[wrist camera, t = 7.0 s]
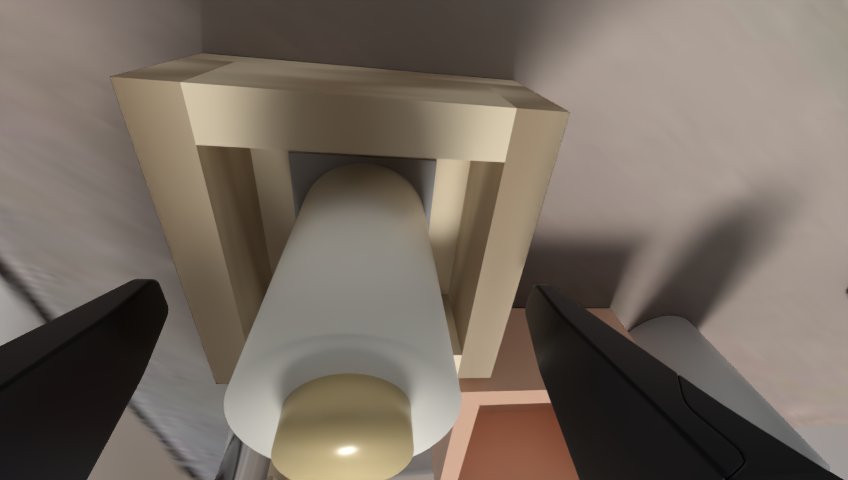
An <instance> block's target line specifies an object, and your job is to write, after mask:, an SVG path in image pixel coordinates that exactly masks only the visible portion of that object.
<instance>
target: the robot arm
mask: <svg viewBox="0 0 848 480" xmlns="http://www.w3.org/2000/svg"><path fill="white" fill-rule="evenodd" d="M167 315H168V305H167V302H166V300H165V297H164V294H163V292H162V289H161V287H160V284H159V283H158V282H157V281H156V280H154V279H135V280H132V281H130V282H128V283H126V284H124V285H122V286H120V287H118V288H116V289H114V290H112V291H110V292H108V293H106V294H104V295H102V296H100V297H98V298H96V299H94V300H92V301H90V302H88V303H86V304H84V305H82V306H80V307H78V308H76V309H74V310H72V311H70V312H68V313H66V314H64V315H62V316H60V317H58V318H56V319H54V320H52V321H50V322H48V323H46V324H44V325H42V326H40V327H38V328H36V329H34V330H32V331H30V332H28V333H26V334H24V335H22V336H20V337H18V338H16V339H14V340H12V341H10V342H8V343H6V344H4V345H2V346H0V480H87V478H88V477H89V475H90V473H91V471H92V469H93V467H94V466H95V464H96V462H97V460H98V458H99V456H100V454H101V453H102V450H103V449H104V447H105V445H106V443H107V442H108V440H109V438H110V436H111V434H112V432H113V430H114V428H115V427H116V425H117V423H118V421H119V419H120V418H121V416H122V414H123V412H124V410H125V408H126V406H127V405H128V403H129V401H130V399H131V397H132V395H133V394H134V392H135V390H136V388H137V386H138V384H139V382H140V380H141V378H142V376H143V374H144V372H145V370H146V367H147V365H148V362H149V360H150V358H151V355H152V353H153V350H154V348H155V345H156V343H157V340H158V338H159V335H160V333H161V330H162V328H163V326H164V323H165V321H166V318H167ZM525 315H526V320H527V324H528V328H529V332H530V336H531V340H532V344H533V348H534V352H535V356H536V360H537V364H538V368H539V371H540V374H541V377H542V380H543V382H544V385H545V388H546V390H547V393H548V396H549V399H550V401H551V404H552V407H553V409H554V412H555V415H556V418H557V420H558V423H559V426H560V429H561V431H562V434H563V437H564V439H565V442H566V445H567V448H568V450H569V453H570V456H571V458H572V461H573V464H574V467H575V469H576V472H577V475H578V477H579V480H843V479H842V478H840V477H838V476H836V475H835V474H833V473H831V472H830V471H828V470H826V469H825V468H823V467H822V466H820V465H818V464H817V463H815V462H814V461H812V460H810V459H809V458H807V457H806V456H804V455H802V454H801V453H799V452H798V451H796V450H794V449H793V448H791V447H790V446H788V445H786V444H785V443H783V442H782V441H780V440H778V439H777V438H775V437H774V436H772V435H770V434H769V433H767V432H766V431H764V430H762V429H761V428H759V427H758V426H756V425H754V424H753V423H751V422H750V421H748V420H747V419H745V418H743V417H742V416H740V415H739V414H737V413H736V412H734V411H732V410H731V409H729V408H728V407H726V406H725V405H723V404H722V403H720V402H719V401H717V400H716V399H714V398H713V397H711V396H710V395H708V394H707V393H705V392H704V391H702V390H701V389H700V388H698V387H697V386H695V385H694V384H692V383H691V382H689V381H688V380H687V379H685V378H684V377H682V376H681V375H677V373H676V372H675V371H674V370H672V369H671V368H669V367H668V366H667V365H665V364H664V363H662V362H661V361H659V360H658V359H657V358H655V357H654V356H652V355H651V354H649V353H648V352H647V351H645V350H644V349H642V348H641V347H639V346H638V345H637V344H635V343H634V342H632V341H631V340H629V339H628V338H627V337H625V336H624V335H622V334H621V333H619V332H618V331H617V330H615V329H614V328H612V327H611V326H609V325H608V324H607V323H605V322H604V321H602V320H601V319H599V318H598V317H597V316H595V315H594V314H592V313H591V312H589V311H588V310H587V309H585V308H584V307H582V306H581V305H579V304H578V303H577V302H575V301H574V300H572V299H571V298H569V297H568V296H567V295H565V294H564V293H562V292H561V291H559V290H558V289H557V288H555V287H554V286H552V285H551V284H535V285H533V287H532V289H531V292H530V295H529V298H528V301H527V304H526V308H525Z"/></svg>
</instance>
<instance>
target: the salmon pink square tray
mask: <svg viewBox="0 0 848 480" xmlns="http://www.w3.org/2000/svg"><path fill="white" fill-rule="evenodd" d="M585 309H587V310H588V311H589V312H591V313H592V314H594V315H595V316H597V317H598V318H599V319H601V320H602V321H604V322H605V323H607V324H608V325H609V326H611V327H612V328H614V329H615V330H617V331H618V332H619V333H621V334H622V335H624V336H625V337H627V338H628V339H629V340H631V341H632V342H634V343H635V344H637V343H636V342H635V341H634V339H633V338H632V337H631V335H630V334H629V333H628V332H627V330H626V329H625V328H624V326H623V325H622V324H621V322H620V321H619V320H618V318H617V317H616V316H615V314H614V313H613V312H612V310H611V309H610V308H585ZM458 381H459V386H460V391H461V401H462V402H461V409H460V413H459V415H458V418H457V420H456V422H455V423H454V425H453V427H452V428H451V429H450V430H449V432H448V433H447V434H446V435H445V436H444V437H443V438H442V439H441V440H440V441H438V442H437V443H436V444H434V445H433V446H432V447H431V454H432V463H433V472H434V480H579V477H578V475H577V472H576V469H575V467H574V464H573V461H572V458H571V456H570V453H569V450H568V448H567V445H566V442H565V439H564V437H563V434H562V431H561V429H560V426H559V423H558V420H557V418H556V415H555V412H554V409H553V407H552V404H551V401H550V399H549V396H548V393H547V390H546V388H545V385H544V382H543V380H542V377H541V374H540V371H539V368H538V364H537V360H536V356H535V352H534V348H533V344H532V340H531V336H530V332H529V328H528V324H527V320H526V315H525V308H511V311H510V314H509V318H508V321H507V324H506V328H505V331H504V334H503V338H502V341H501V344H500V348H499V351H498V354H497V358H496V361H495V364H494V368H493V371H492V374H491V378H458Z"/></svg>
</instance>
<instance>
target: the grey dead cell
mask: <svg viewBox="0 0 848 480" xmlns="http://www.w3.org/2000/svg"><path fill="white" fill-rule="evenodd" d="M628 333H629V334H630V335H631V337H632V338H633V339H634V341H635V342H636V343H637V345H638V346H639V347H641V348H642V349H644V350H645V351H647V352H648V353H649V354H651V355H652V356H654V357H655V358H657V359H658V360H659V361H661V362H662V363H664V364H665V365H667V366H668V367H669V368H671V369H672V370H674V371H675V372H676V373H677V375H681V376H682V377H684V378H685V379H687V380H688V381H689V382H691V383H692V384H694V385H695V386H697V387H698V388H700V389H701V390H702V391H704V392H705V393H707V394H708V395H710V396H711V397H713V398H714V399H716V400H717V401H719V402H720V403H722V404H723V405H725V406H726V407H728V408H729V409H731V410H732V411H734V412H736V413H737V414H739V415H740V416H742V417H743V418H745V419H747V420H748V421H750V422H751V423H753V424H754V425H756V426H758V427H759V428H761V429H762V430H764V431H766V432H767V433H769V434H770V435H772V436H774V437H775V438H777V439H778V440H780V441H782V442H783V443H785V444H786V445H788V446H790V447H791V448H793V449H794V450H796V451H798V452H799V453H801V454H802V455H804V456H806V457H807V458H809V459H810V460H812V461H814V462H815V463H817V464H818V465H820V466H822V467H823V468H825V469H826V470H828V471H829V470H830V467H829V465H828V464H827V463H826V462H825V461H824V460H823V459H822V458H821V457H820V456H819V454H817V452H816V451H815V450H814V449H813V448H812V447H811V446H810V445H809V444H808V443H807V442H806V441H805V440H804V439H803V438H802V437H801V436H800V435H799V434H798V433H797V432H796V431H795V430H794V429H793V428H792V427H791V426H790V425H789V424H788V423H787V422H786V421H785V419H784V418H783V417H782V416H781V415H780V414H779V413H778V412H777V411H776V410H775V409H774V408H773V407H772V406H771V405H770V404H769V403H768V402H767V401H766V400H765V399H764V398H763V397H762V396H761V395H760V394H759V393H758V392H757V391H756V390H755V389H754V388H753V387H752V386H751V384H750V383H749V382H748V381H747V380H746V379H745V378H744V377H743V376H742V375H741V374H740V373H739V372H738V371H737V370H736V369H735V368H734V367H733V366H732V365H731V364H730V363H729V362H728V361H727V360H726V359H725V358H724V357H723V356H722V355H721V354H720V353H719V352H718V351H717V349H716V348H715V347H714V346H713V345H712V344H711V343H710V342H709V341H708V340H707V339H706V338H705V337H704V336H703V335H702V334H701V333H700V332H699V331H698V330H697V329H696V328H695V327H694V326H693V325H692V324H691V323H690V322H689V321H688V320H687V319H685V318H683V317H679V316H662V317H658V318H654V319H651V320H648V321H646V322H644V323H642V324H640V325H638V326H637V327H635V328H634V329H632V330H631V331H630V332H628Z"/></svg>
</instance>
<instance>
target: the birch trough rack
mask: <svg viewBox="0 0 848 480" xmlns="http://www.w3.org/2000/svg"><path fill="white" fill-rule="evenodd" d="M110 79H111V82H112V85H113V88H114V91H115V94H116V97H117V100H118V102H119V105H120V108H121V111H122V114H123V117H124V120H125V123H126V126H127V128H128V131H129V134H130V137H131V140H132V143H133V146H134V149H135V152H136V154H137V157H138V160H139V163H140V166H141V169H142V172H143V175H144V178H145V180H146V183H147V186H148V189H149V192H150V195H151V198H152V201H153V203H154V206H155V209H156V212H157V215H158V218H159V221H160V224H161V227H162V229H163V232H164V235H165V238H166V241H167V244H168V247H169V250H170V253H171V255H172V258H173V261H174V264H175V267H176V270H177V273H178V276H179V278H180V281H181V284H182V287H183V290H184V293H185V296H186V299H187V302H188V304H189V307H190V310H191V313H192V316H193V319H194V322H195V325H196V328H197V330H198V333H199V336H200V339H201V342H202V345H203V348H204V351H205V353H206V356H207V359H208V362H209V365H210V368H211V371H212V374H213V377H214V379H215V382H216V384H229V382H230V380H231V378H232V375H233V373H234V370H235V368H236V365H237V363H238V360H239V358H240V356H241V353H242V351H243V348H244V346H245V343H246V341H247V338H248V336H249V334H250V331H251V329H252V326H253V324H254V321H255V319H256V317H257V314H258V312H259V309H260V307H261V304H262V302H263V299H264V297H265V295H266V292H267V290H268V287H269V285H270V282H271V280H272V278H273V275H274V273H275V270H276V268H277V265H278V263H279V260H280V258H281V256H282V253H283V251H284V248H285V246H286V243H287V241H288V239H289V236H290V234H291V231H292V229H293V226H294V224H295V221H296V219H297V217H298V214H299V212H300V209H301V207H302V204H303V202H304V200H305V197H306V195H307V193H308V191H309V189H310V188H311V186H312V185H313V184H314V183H315V182H316V181H317V180H318V179H319V178H320V177H321V176H322V175H324V174H325V173H327V172H328V171H330V170H332V169H334V168H337V167H339V166H343V165H347V164H353V163H369V164H376V165H380V166H383V167H386V168H389V169H391V170H393V171H395V172H397V173H398V174H400V175H401V176H403V177H404V178H405V179H406V180H407V181H409V182H410V183H411V185H412V186H413V187H414V188H415V189H416V191H417V193H418V194H419V196H420V198H421V201H422V204H423V207H424V212H425V217H426V222H427V227H428V232H429V237H430V242H431V247H432V252H433V257H434V261H435V266H436V271H437V276H438V281H439V286H440V291H441V296H442V301H443V306H444V311H445V316H446V321H447V326H448V331H449V336H450V341H451V346H452V351H453V356H454V361H455V366H456V371H457V376H458V378H491V374H492V371H493V368H494V364H495V361H496V358H497V354H498V351H499V348H500V344H501V341H502V338H503V334H504V331H505V328H506V324H507V321H508V318H509V314H510V311H511V308H512V304H513V301H514V298H515V294H516V291H517V288H518V285H519V281H520V278H521V275H522V271H523V268H524V265H525V261H526V258H527V255H528V251H529V248H530V245H531V241H532V238H533V235H534V231H535V228H536V225H537V221H538V218H539V215H540V211H541V208H542V205H543V201H544V198H545V195H546V191H547V188H548V185H549V181H550V178H551V175H552V171H553V168H554V165H555V161H556V158H557V155H558V151H559V148H560V145H561V141H562V138H563V135H564V131H565V128H566V125H567V122H568V118H569V115H570V112H569V111H567V110H565V109H563V108H562V107H560V106H558V105H556V104H555V103H553V102H551V101H549V100H548V99H546V98H544V97H542V96H540V95H539V94H537V93H535V92H533V91H532V90H530V89H528V88H526V87H524V86H523V85H521V84H519V83H517V82H516V81H513V80H501V79H490V78H479V77H467V76H456V75H444V74H433V73H421V72H410V71H399V70H387V69H376V68H364V67H353V66H342V65H330V64H319V63H307V62H296V61H284V60H273V59H262V58H250V57H239V56H227V55H216V54H204V53H201V54H197V55H193V56H189V57H185V58H181V59H177V60H173V61H169V62H165V63H161V64H158V65H154V66H150V67H146V68H142V69H138V70H134V71H130V72H126V73H122V74H118V75H114V76H110Z"/></svg>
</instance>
